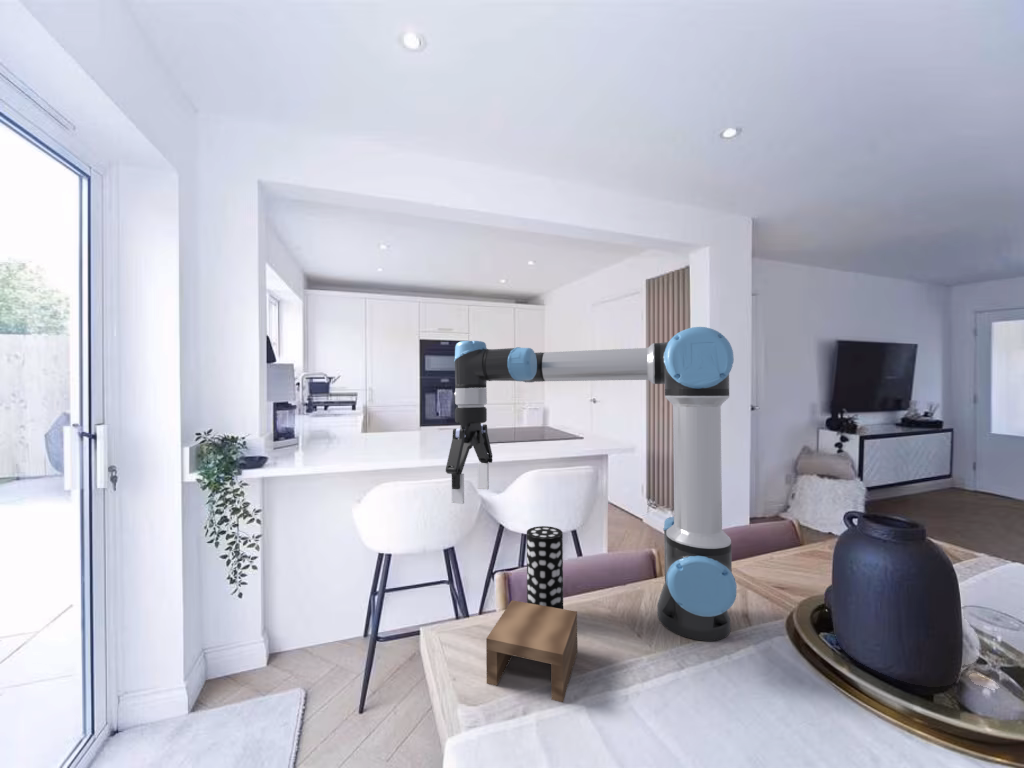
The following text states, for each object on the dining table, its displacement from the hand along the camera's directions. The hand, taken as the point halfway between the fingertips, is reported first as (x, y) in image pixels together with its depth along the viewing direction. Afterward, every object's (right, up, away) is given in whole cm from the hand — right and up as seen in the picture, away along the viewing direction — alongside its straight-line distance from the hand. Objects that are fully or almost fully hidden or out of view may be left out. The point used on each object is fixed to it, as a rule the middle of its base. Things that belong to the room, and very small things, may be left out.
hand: (471, 495), depth 95 cm
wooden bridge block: (+14, -28, -19) cm, 36 cm away
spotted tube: (+17, -28, -3) cm, 33 cm away
